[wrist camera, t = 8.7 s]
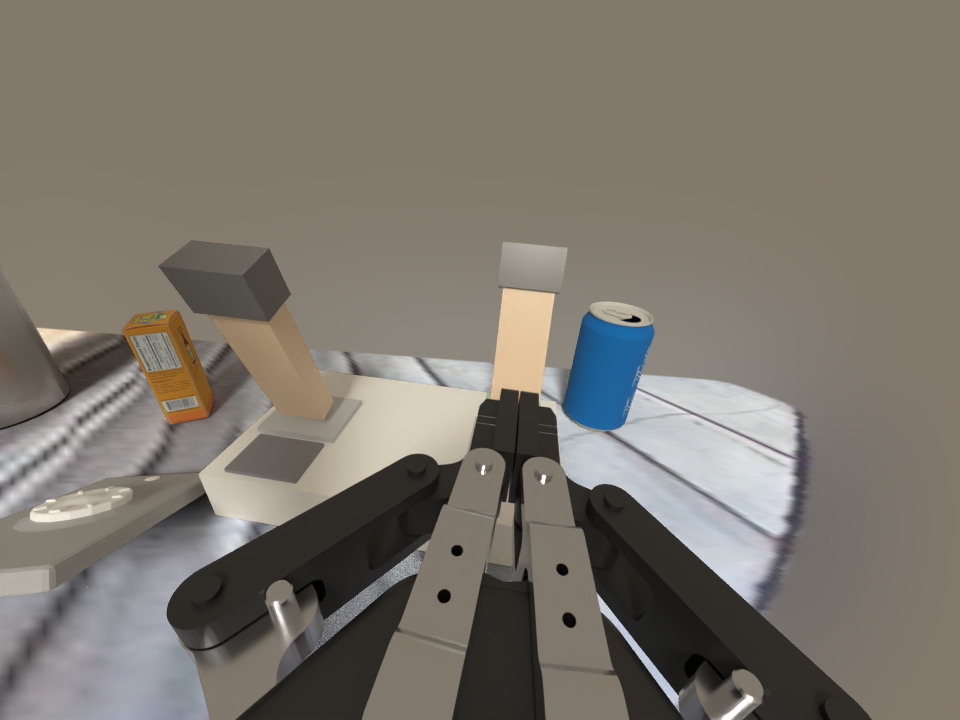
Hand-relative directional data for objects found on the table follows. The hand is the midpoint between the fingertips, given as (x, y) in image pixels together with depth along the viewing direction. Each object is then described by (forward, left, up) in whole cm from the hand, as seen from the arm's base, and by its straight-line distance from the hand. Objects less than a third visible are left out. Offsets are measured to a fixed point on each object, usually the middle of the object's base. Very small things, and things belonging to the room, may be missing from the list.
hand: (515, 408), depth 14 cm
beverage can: (-3, +23, -15) cm, 27 cm away
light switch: (-20, -13, -15) cm, 28 cm away
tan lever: (-5, +9, -9) cm, 14 cm away
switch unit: (-12, +5, -15) cm, 19 cm away
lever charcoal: (-18, 0, -9) cm, 20 cm away
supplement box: (-33, -4, -15) cm, 36 cm away
